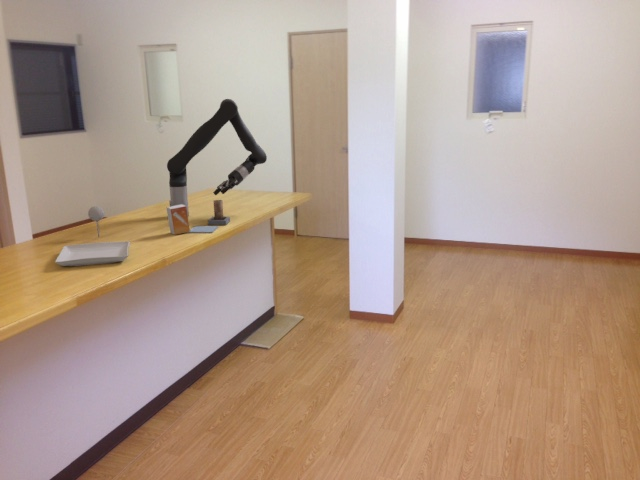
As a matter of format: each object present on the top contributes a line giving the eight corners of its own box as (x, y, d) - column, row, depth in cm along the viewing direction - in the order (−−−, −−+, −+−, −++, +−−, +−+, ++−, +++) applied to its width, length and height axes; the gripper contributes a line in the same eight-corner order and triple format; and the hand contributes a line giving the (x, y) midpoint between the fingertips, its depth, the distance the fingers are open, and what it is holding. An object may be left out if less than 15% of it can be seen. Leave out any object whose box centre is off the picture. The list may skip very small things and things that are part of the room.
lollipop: (110, 235, 271) (106, 205, 267) (99, 239, 264) (96, 208, 261) (97, 234, 273) (94, 204, 269) (87, 238, 267) (83, 207, 263)
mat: (188, 232, 274) (188, 231, 274) (195, 227, 286) (195, 226, 286) (212, 233, 274) (212, 231, 273) (218, 227, 285) (218, 226, 285)
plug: (213, 224, 293) (212, 201, 290) (216, 222, 297) (214, 199, 294) (222, 224, 293) (221, 201, 290) (224, 222, 297) (223, 199, 294)
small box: (174, 235, 270) (170, 209, 266) (170, 232, 275) (165, 207, 271) (190, 231, 274) (186, 205, 270) (186, 229, 279) (181, 203, 275)
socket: (208, 225, 291) (207, 220, 290) (212, 221, 300) (212, 216, 299) (226, 225, 290) (225, 220, 289) (230, 221, 299) (229, 216, 299)
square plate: (129, 264, 225) (128, 255, 224) (55, 270, 218) (53, 261, 217) (131, 247, 250) (130, 239, 249) (64, 253, 243) (63, 244, 242)
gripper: (228, 171, 310) (207, 188, 302) (240, 168, 299) (220, 186, 291) (236, 182, 313) (216, 199, 305) (248, 179, 302) (228, 197, 294)
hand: (218, 193), depth 298 cm, fingers open, 8 cm apart
